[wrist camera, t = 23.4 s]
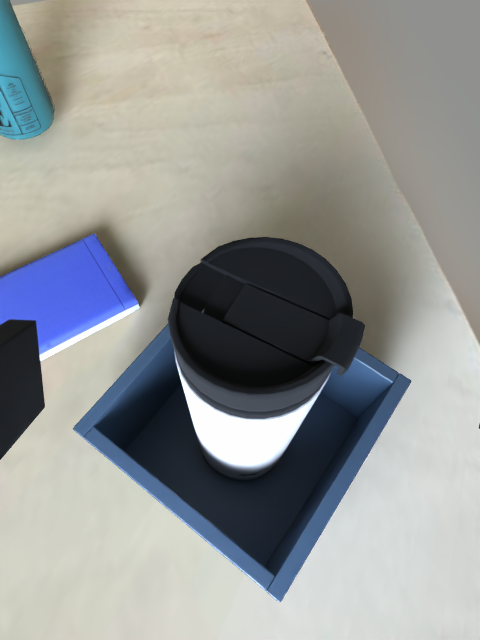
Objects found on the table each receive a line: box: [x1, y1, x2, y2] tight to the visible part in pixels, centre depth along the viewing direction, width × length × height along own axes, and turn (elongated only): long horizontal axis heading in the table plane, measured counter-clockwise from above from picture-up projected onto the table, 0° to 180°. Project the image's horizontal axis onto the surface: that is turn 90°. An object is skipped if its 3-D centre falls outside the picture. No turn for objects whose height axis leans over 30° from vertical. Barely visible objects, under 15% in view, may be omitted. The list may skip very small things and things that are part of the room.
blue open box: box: [73, 324, 411, 602], centre depth 29 cm, size 14×14×9 cm
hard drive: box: [0, 234, 140, 361], centre depth 37 cm, size 2×8×12 cm
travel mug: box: [168, 237, 365, 480], centre depth 24 cm, size 6×7×20 cm
